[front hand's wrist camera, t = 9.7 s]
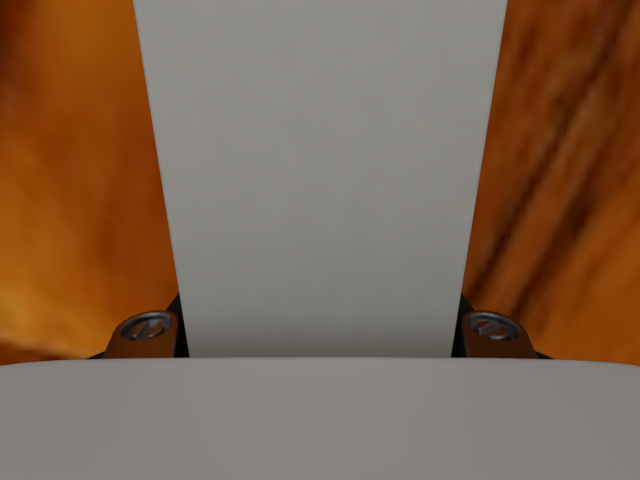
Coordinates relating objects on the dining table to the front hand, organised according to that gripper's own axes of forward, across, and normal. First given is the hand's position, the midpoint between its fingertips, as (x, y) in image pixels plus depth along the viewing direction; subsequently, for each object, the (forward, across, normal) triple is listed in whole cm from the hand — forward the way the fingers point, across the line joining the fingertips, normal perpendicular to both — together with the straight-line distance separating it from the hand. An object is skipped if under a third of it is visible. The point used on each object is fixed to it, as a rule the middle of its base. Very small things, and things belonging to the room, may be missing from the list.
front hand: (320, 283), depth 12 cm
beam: (+4, 0, -24) cm, 24 cm away
